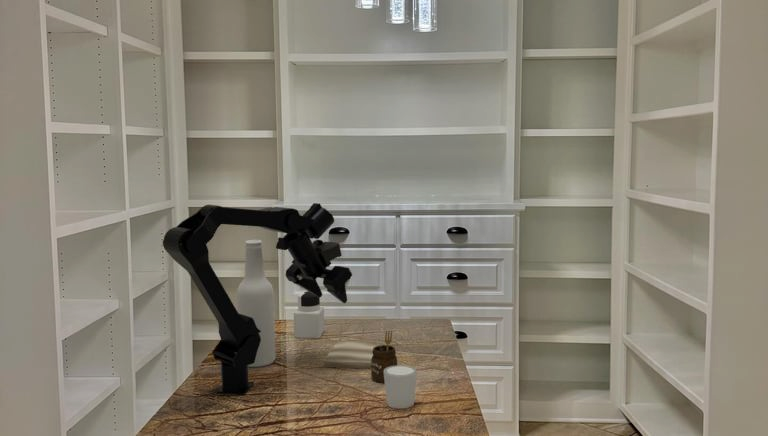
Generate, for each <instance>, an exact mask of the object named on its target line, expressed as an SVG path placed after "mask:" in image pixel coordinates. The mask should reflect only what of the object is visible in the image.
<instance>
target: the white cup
mask: <svg viewBox="0 0 768 436" xmlns="http://www.w3.org/2000/svg"><path fill="white" fill-rule="evenodd" d="M417 372H418V370H417V368H415V367H414V366H413V367H412V366H409V365H404V364H403V365H401V364H400V365H399V364H397V365H396V366H390V367H387V368H385V369H384V381H385V382H384V391H385V399H386V405H387V407H389V408H392V409H400V410H401V409H408V408H411V407H413V406H414V405H415V397H416V387H417V386H416V385H417Z"/></svg>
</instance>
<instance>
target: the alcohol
mask: <svg viewBox="0 0 768 436" xmlns="http://www.w3.org/2000/svg"><path fill="white" fill-rule="evenodd" d="M244 244H245V246H244V248H245V260H244V261H245V262H244V264H245V265H244V277H243V280H242V281H241V282H240V284H239V285H238V287H237V291H236V310H237V312H238V313H239V314H242V315H245V316H248V317H252V318H253V320H254V322H255V324H256V327H257V328H258V329H259V330H260V331H261V332H260V333H259V335H260V337H261V342H260V345H259V348H258V351H257V354H256V358H255V362H254V363H253V364H250V365H248V368H261V367H267V366H270V365H272V364H273V363H274V362H275V360H276V357H277V356H276V353H277V352H276V328H275V326H276V325H275V322H276V321H275V294H274V293H275V292H274V289H273V288H274V287H273V285H272V283H271V282H270V281H269V280H268V279H267V277H266V274H265V268H264V267H265V266H264V257H263V249H262V248H263V245H262V244H263V241H262V240H261V239H250V240H248V239H247V240H246V241H245V242H244Z"/></svg>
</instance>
